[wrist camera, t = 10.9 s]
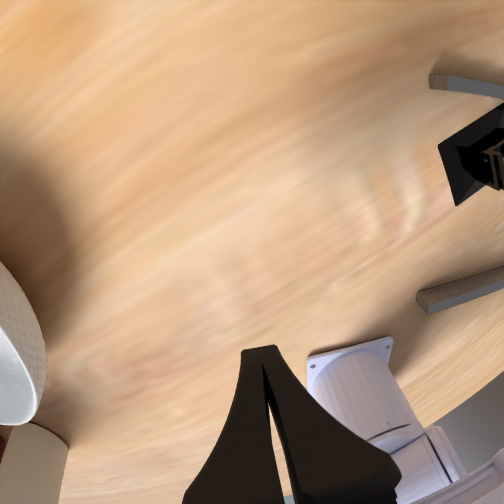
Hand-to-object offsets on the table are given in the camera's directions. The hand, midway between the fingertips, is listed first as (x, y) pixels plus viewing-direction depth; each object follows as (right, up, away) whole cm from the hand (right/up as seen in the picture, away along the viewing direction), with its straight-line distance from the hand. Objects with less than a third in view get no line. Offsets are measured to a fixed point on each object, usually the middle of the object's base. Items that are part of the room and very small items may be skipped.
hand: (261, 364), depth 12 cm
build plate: (+18, +13, +8) cm, 23 cm away
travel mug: (-27, -19, +17) cm, 37 cm away
